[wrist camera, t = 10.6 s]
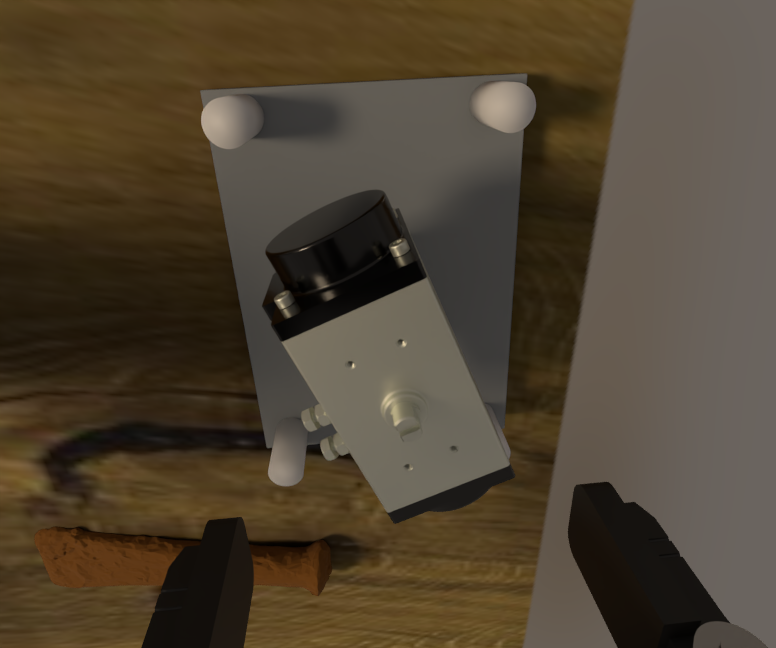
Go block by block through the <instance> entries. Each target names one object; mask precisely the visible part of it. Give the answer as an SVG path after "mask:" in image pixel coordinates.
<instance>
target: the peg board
mask: <svg viewBox="0 0 776 648" xmlns="http://www.w3.org/2000/svg"><path fill="white" fill-rule="evenodd" d="M200 92H201V97H202V103H203V108H204V110H203V112H202V117H201V123H202V128H203V131H204V133H205V135H206V136H207V138H208V139H209V140H210V145H211V151H212V156H213V162H214V167H215V172H216V178H217V183H218V188H219V194H220V199H221V204H222V210H223V215H224V221H225V226H226V231H227V237H228V242H229V247H230V253H231V258H232V263H233V269H234V274H235V280H236V285H237V290H238V296H239V301H240V306H241V312H242V317H243V322H244V328H245V333H246V339H247V344H248V349H249V355H250V360H251V365H252V371H253V376H254V381H255V387H256V392H257V397H258V403H259V408H260V414H261V419H262V424H263V430H264V435H265V440H266V446H267V448H272V454H271V459H270V464H269V469H268V475H269V478H270V479H271V480H272V481H273V482H274V483H276V484H278V485H281V486H292V485H295V484H297V483H298V482H299V481H300V480H301V479H302V477H303V474H304V464H305V455H306V445H310V444H320V441H321V440H322V439H324V438H326V437H329V436H331V437H332V439H333V435H334V434H336V433H337V431H336V430H335V428H334V426H333V425H332V423H331V424H329V425H326V426H321V425H320V426H321V427H320V428H318V429H317V430H314V431H312V432H309V431H308V430H307V429H306V428H305V426H304V424H303V421H302V418H301V412H302V411H304V410H306V409H308V408H311V407H313V408H314V406H316V405H318V404H319V402H318V401H317V399H316V397H315V396H314V394H313V393H312V391H311V389H310V388H309V386H308V385H307V383H306V381H305V380H304V378H303V377H302V375H301V373H300V372H299V370H298V368H297V367H296V365H295V364H294V362H293V360H292V359H291V357H290V356H289V354H288V352H287V351H286V349H285V348H284V346H283V344H282V343H281V341H280V340H279V338H278V336H277V335H276V333H275V332H274V330H273V328H272V327H271V320H270V319H269V317H268V316H267V314H266V312H265V311H264V309H263V307H262V304H263V301H264V298H265V295H266V293H267V290H268V287H269V284H270V281H271V279H272V276H273V274H274V273H276V271H275V270H274V268H273V266H272V265H271V263H270V261H269V259H268V258H267V256H266V254H265V250H266V247H267V245H268V244H269V243H270V242H271V240H272V239H274V238H275V237H276V236H277V235H278V234H279V233H280V232H282V231H283V230H284V229H286V228H287V227H289V226H290V225H292V224H293V223H295V222H296V221H298V220H300V219H301V218H303V217H305V216H306V215H308V214H310V213H312V212H314V211H316V210H318V209H320V208H322V207H324V206H326V205H328V204H330V203H332V202H334V201H337V200H339V199H342V198H344V197H347V196H350V195H353V194H356V193H359V192H363V191H367V190H376V189H377V190H382V191H384V192H385V193H386V195H387V197H388V199H389V202H390V204H391V206H392V208H394V209H397V208H399V209H400V212H401V214H402V216H403V218H404V221H405V223H406V225H407V228H408V230H409V232H410V234H411V237H412V239H413V241H414V243H415V246H416V248H417V250H418V252H419V255H420V257H421V259H422V262H423V264H424V266H425V268H426V271H427V273H428V275H429V277H430V280H431V282H432V284H433V286H434V289H435V291H436V293H437V296H438V298H439V300H440V302H441V305H442V307H443V309H444V311H445V314H446V316H447V318H448V320H449V323H450V325H451V327H452V330H453V332H454V334H455V336H456V339H457V341H458V343H459V345H460V348H461V350H462V352H463V354H464V357H465V359H466V361H467V364H468V366H469V368H470V370H471V373H472V375H473V377H474V379H475V382H476V384H477V386H478V389H479V391H480V393H481V396H482V398H483V400H484V403H485V405H486V408H487V410H488V412H489V415H490V417H491V419H492V422H493V424H494V426H495V429H496V431H497V434H498V436H499V438H500V441H501V443H502V445H503V448H504V450H505V452H506V455H507V457H508V459H509V457H510V454H511V452H510V448H509V446H508V444H507V441H506V439H505V437H504V434H503V432H502V430H501V429H502V428H504V425H505V410H506V395H507V379H508V364H509V349H510V333H511V318H512V302H513V287H514V272H515V256H516V241H517V226H518V210H519V195H520V180H521V164H522V149H523V134H524V128H525V127H526V126H527V125H528V124H529V123H530V122H531V120H532V119H533V117H534V114H535V110H536V99H535V96H534V94H533V92H532V90H531V89H530V88H529V87H528V86H527V74H498V75H479V76H459V77H440V78H421V79H401V80H382V81H363V82H343V83H324V84H305V85H285V86H266V87H247V88H227V89H208V90H201V91H200Z"/></svg>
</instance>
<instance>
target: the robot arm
mask: <svg viewBox="0 0 776 648" xmlns="http://www.w3.org/2000/svg"><path fill="white" fill-rule="evenodd" d="M568 538H569V544H570V548H571V551H572V554H573V557H574V559H575V561H576V563H577V565H578V567H579V569H580V571H581V573H582V575H583V577H584V579H585V581H586V584H587V586H588V587H589V590H590V592H591V594H592V596H593V598H594V600H595V602H596V604H597V606H598V608H599V610H600V612H601V614H602V616H603V619H604V621H605V622H606V625H607V627H608V629H609V631H610V633H611V635H612V637H613V639H614V641H615V643H616V645H617V647H618V648H768V647H767V646H766V645H765V644H764V643H763V642H762V641H761V640H759V639H758V638H757V637H756V636H754V635H753V634H751V633H750V632H748V631H746V630H745V629H743V628H741V627H739V626H737V625H734V624H731V623H730V622H729V621H728V620H727V619H726V617H725V616H724V615H723V613H722V612H721V611H720V609H719V608H718V606H717V605H716V603H715V602H714V601H713V599H712V598H711V596H710V595H709V594H708V592H707V591H706V589H705V588H704V587H703V585H702V584H701V582H700V581H699V579H698V578H697V577H696V575H695V574H694V572H693V571H692V570H691V568H690V567H689V566H688V564H687V563H686V561H685V560H684V558H683V557H680V554H679V551H678V550H677V549H676V547H675V546H674V544H673V543H672V541H669V539H668V536H667V534H666V533H665V532H664V530H663V529H662V527H661V526H660V525H659V523H658V522H657V520H656V519H655V518H654V517H653V516H652V515H650V514H649V513H648V512H647V511H645V510H644V509H643V508H642V507H640V506H639V505H638V504H636V503H635V502H631V503H624V502H623V501H622V499H621V498H620V496H619V495H618V493H617V492H616V490H615V489H614V487H613V486H612V485H611V484H610V483H609V482H600V483H590V484H580V485H576V486H575V488H574V492H573V500H572V507H571V513H570V520H569V526H568ZM253 585H254V567H253V560H252V555H251V551H250V547H249V542H248V538H247V534H246V529H245V525H244V521H243V519H242V517H237V518H227V519H216V520H209V521H208V522H207V524H206V527H205V530H204V533H203V537H202V540H201V544H200V545H197V546H187V547H184V548H183V550H182V551H181V552H180V553H179V555H178V556H177V557H176V559H175V560H174V561H173V562H172V564H171V565H170V566H169V568H168V571H167V574H166V577H165V580H164V583H163V586H162V589H161V594H160V595H159V597H158V600H157V603H156V606H155V613H153V615H152V618H151V621H150V624H149V627H148V630H147V633H146V636H145V639H144V642H143V644H142V647H141V648H244V642H245V636H246V629H247V623H248V617H249V611H250V605H251V599H252V593H253Z"/></svg>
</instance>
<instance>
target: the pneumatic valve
mask: <svg viewBox="0 0 776 648" xmlns="http://www.w3.org/2000/svg"><path fill="white" fill-rule="evenodd" d="M265 254H266V256H267V258H268V259H269V261H270V263H271V265H272V266H273V268H274V270H275V271H276V273H274V274H273V276H272V279H271V281H270V284H269V287H268V290H267V293H266V295H265V298H264V301H263V304H262V307H263V309H264V311H265V312H266V314H267V316H268V317H269V319H270V320H271V327H272V328H273V330H274V332H275V333H276V335H277V336H278V338H279V340H280V341H281V343H282V344H283V346H284V348H285V349H286V351H287V352H288V354H289V356H290V357H291V359H292V360H293V362H294V364H295V365H296V367H297V368H298V370H299V372H300V373H301V375H302V377H303V378H304V380H305V381H306V383H307V385H308V386H309V388H310V389H311V391H312V393H313V394H314V396H315V397H316V399H317V401H318V402H319V404H318V405H316V406H314V408H313V407H311V408H308V409H306V410H304V411H302V412H301V418H302V421H303V424H304V426H305V428H306V429H307V430H308V431H309V432H312V431H314V430H317V429H318V428H320V427H321V426H326V425H329V424H331V423H332V425H333V426H334V428H335V430H336V431H337V433H336V434H334V435H333V439H332V437H331V436H329V437H326V438H324V439H322V440H321V441H320V446H321V450H322V453H323V455H324V457H325V458H326V459H327V460H329V461H330V460H333V459H335V458H337V457H338V456H339V454H340V455H345V454H347V453H349V452H350V454H351V455H352V457H353V458H354V460H355V462H356V463H357V465H358V466H359V468H360V470H361V471H362V473H363V475H364V476H365V478H366V479H367V481H368V483H369V484H370V486H371V487H372V489H373V491H374V492H375V494H376V495H377V497H378V499H379V500H380V502H381V503H382V505H383V507H384V508H385V510H386V511H387V513H388V515H389V516H390V518H391V520H392V521H393V523H395V524H396V523H399V522H401V521H404V520H406V519H409V518H412V517H414V516H417V515H419V514H422V513H424V512H427V511H433V512H444V511H452V510H456V509H459V508H462V507H464V506H467V505H469V504H471V503H472V502H474V501H476V500H477V499H479V498H480V497H481V496H483V495H484V494H485V493H486V492H487V491H488V490H489V489H490V488H491V487H492V486H494V485H497V484H499V483H502V482H505V481H507V480H510V479H512V478H514V477H515V474H514V471H513V469H512V467H511V464H510V462H509V459H508V457H507V455H506V452H505V450H504V448H503V445H502V443H501V441H500V438H499V436H498V434H497V431H496V429H495V426H494V424H493V422H492V419H491V417H490V415H489V412H488V410H487V408H486V405H485V403H484V400H483V398H482V396H481V393H480V391H479V389H478V386H477V384H476V382H475V379H474V377H473V375H472V373H471V370H470V368H469V366H468V364H467V361H466V359H465V357H464V354H463V352H462V350H461V348H460V345H459V343H458V341H457V339H456V336H455V334H454V332H453V330H452V327H451V325H450V323H449V320H448V318H447V316H446V314H445V311H444V309H443V307H442V305H441V302H440V300H439V298H438V296H437V293H436V291H435V289H434V286H433V284H432V282H431V280H430V277H429V275H428V273H427V271H426V268H425V266H424V264H423V262H422V259H421V257H420V255H419V252H418V250H417V248H416V246H415V243H414V241H413V239H412V237H411V234H410V232H409V230H408V228H407V225H406V223H405V221H404V218H403V216H402V214H401V212H400V209H399V208H397V209H394V208H392V206H391V204H390V202H389V199H388V197H387V195H386V193H385V192H384V191H382V190H377V189H376V190H367V191H363V192H359V193H356V194H353V195H350V196H347V197H344V198H342V199H339V200H337V201H334V202H332V203H330V204H328V205H326V206H324V207H322V208H320V209H318V210H316V211H314V212H312V213H310V214H308V215H306V216H305V217H303V218H301V219H300V220H298V221H296V222H295V223H293V224H292V225H290V226H289V227H287V228H286V229H284V230H283V231H282V232H280V233H279V234H278V235H277V236H276V237H275V238H274V239H272V240H271V242H270V243H269V244H268V245H267V247H266V250H265ZM320 425H321V426H320ZM338 453H339V454H338Z"/></svg>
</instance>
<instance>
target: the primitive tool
mask: <svg viewBox="0 0 776 648" xmlns="http://www.w3.org/2000/svg"><path fill="white" fill-rule="evenodd" d="M34 540H35V544H36V546H37V548H38V549H39V552H40V554H41V557H42V559H43V562H44V564H45V567H46V569H47V572H48V574H49V576H50V579H51V581H52V582H53V583H54V584H56V585H59V586H66V587H72V588H81V587H98V586H119V585H163V583H164V580H165V577H166V574H167V571H168V568H169V566H170V565H171V564H172V562H173V561H174V560H175V559H176V557H177V556H178V555H179V553H180V552H181V551H182V550H183V548H184V547H187V546H197V545H200V544H201V541H188V540H174V539H164V538H158V537H146V536H144V535H142V536H132V535H129V536H125V535H119V534H112V533H111V534H107V533H99V532H89V531H84V530H82V529H80V528H78V527H76V528H74V529H66V528H63V527H52V528H51V529H42V530H39V531H38V532H37V533H36V534H35V537H34ZM249 547H250V551H251V555H252V560H253V567H254V585H268V586H285V587H303V588H306V589H307V590H309V591H310V592H311V593H312V595H316V596H319V595H320V593H321V592H322V590H323V589H324V586H325V584H326V582H327V581H328V579H329V575H330V574H331V572H332V566H331V555H330V547H329V546H328V544H327V543H326V542H325V541H324V540H319V541H316V542H313V543H312V544H311V545H309V546H306V547H281V546H265V545H263V546H258V545H252V544H249Z"/></svg>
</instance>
